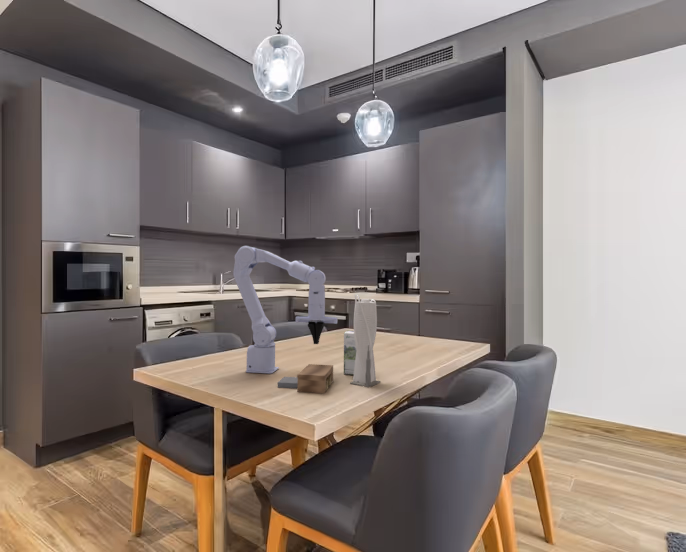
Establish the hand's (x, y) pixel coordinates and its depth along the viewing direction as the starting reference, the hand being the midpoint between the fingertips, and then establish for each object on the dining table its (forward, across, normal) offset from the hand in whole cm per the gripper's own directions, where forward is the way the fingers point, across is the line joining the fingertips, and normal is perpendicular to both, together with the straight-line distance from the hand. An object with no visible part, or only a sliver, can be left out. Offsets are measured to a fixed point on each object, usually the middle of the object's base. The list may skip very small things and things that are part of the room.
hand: (316, 343), depth 141 cm
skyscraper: (+10, +18, -10) cm, 23 cm away
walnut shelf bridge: (+10, +4, -17) cm, 20 cm away
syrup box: (+10, +13, +1) cm, 16 cm away
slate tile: (+10, -1, -17) cm, 20 cm away
